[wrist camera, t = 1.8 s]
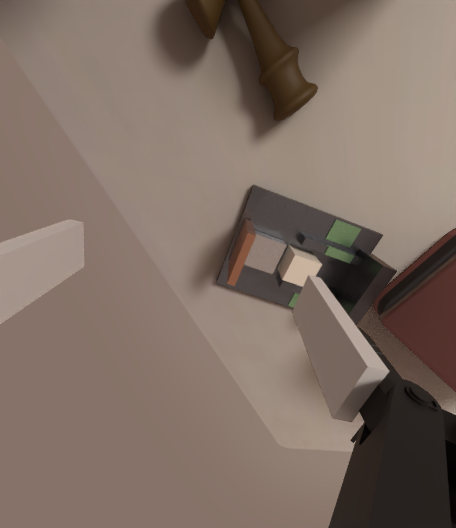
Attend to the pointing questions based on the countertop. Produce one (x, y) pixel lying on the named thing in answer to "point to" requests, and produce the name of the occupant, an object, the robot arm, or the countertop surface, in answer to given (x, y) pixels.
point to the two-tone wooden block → (254, 252)
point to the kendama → (263, 54)
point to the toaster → (426, 308)
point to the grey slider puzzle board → (321, 245)
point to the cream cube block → (298, 265)
